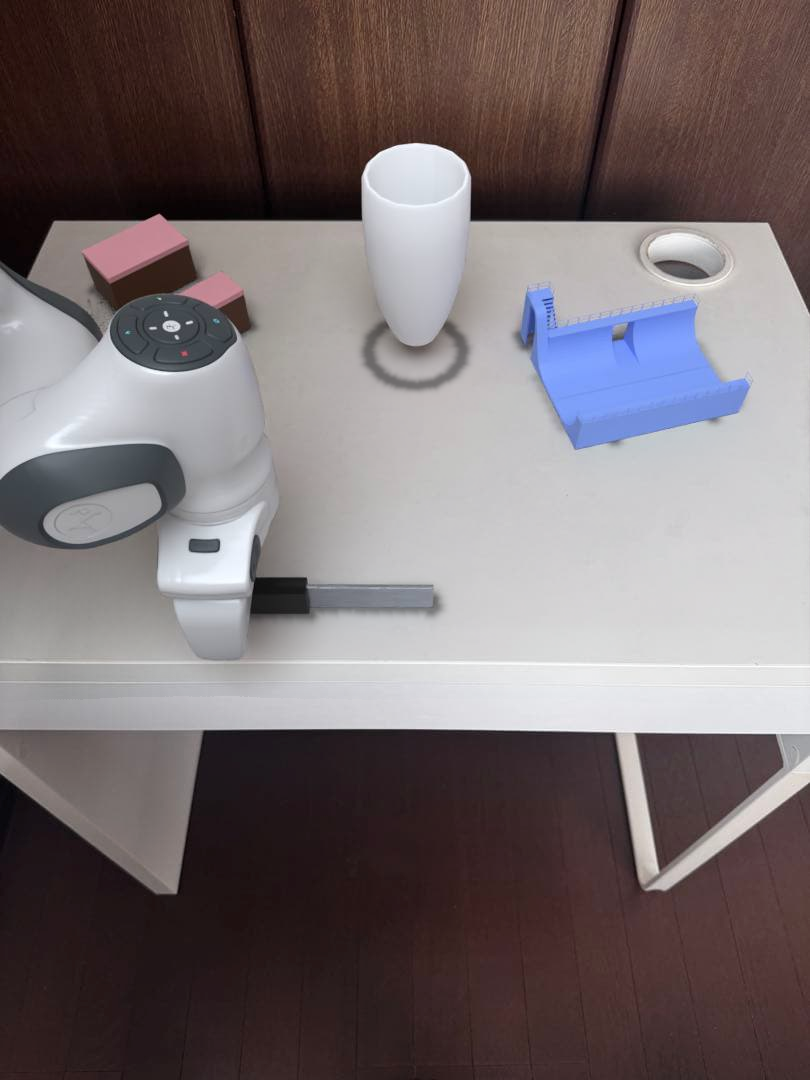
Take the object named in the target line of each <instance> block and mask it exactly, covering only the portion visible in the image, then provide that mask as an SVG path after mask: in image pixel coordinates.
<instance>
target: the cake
mask: <svg viewBox="0 0 810 1080" xmlns="http://www.w3.org/2000/svg"><path fill="white" fill-rule="evenodd" d="M81 253H82V257H83V259H84V262H85V264H86V268H87V269H88V273H89V274H90V277H91V280H92V282H93V284H94V287H95V290H96V291H97V292H98V293H99V294H100V295H101V297H103V299H104V300H105V301H106V302H107V303H108V304H109V305H110V307H112V308H113V310H115V311H116V312H117V311H118V310H119V309H121V308H122V307H123V306H124V305H126V304H128V303H129V302H131V301H133V300H136V299H138V298H141V297H145V296H149V295H156V294H172V292H174V291H177V290H179V289H180V288H183V287H184V286H186V285H188V284H190V283H192V282H194V281H196V280H198V276H197V272H196V268H195V263H194V260H193V257H192V256H193V255H192V252H191V249H190V245H189V241H188V239H187V238H186V237H185V236H184V235H183V234H182V233H181V232H180V231H178V229H177V228H175V226H173V224H172V223H170V222H169V221H168V220H167V219H166V218H165V217H164V216H163V215H161V213H158V214H156V215H154V216H152V217H150V218H148V219H145V220H143V221H141V222H139V223H137V224H135V225H133V226H131V227H129V228H126V229H124V230H123V231H120V232H118V233H116V234H114V235H112V236H110V237H107V238H106V239H103V240H101V241H99V242H97V243H94V244H93V245H91V246H89V247H86V248H84V249H82V250H81Z"/></svg>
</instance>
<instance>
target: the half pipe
mask: <svg viewBox="0 0 810 1080" xmlns="http://www.w3.org/2000/svg"><path fill="white" fill-rule="evenodd" d="M545 283H546V282H545V281H544V282H543V284H545ZM548 283H550V284H545V285H544V287H546V286H548V287H546V288H541V287H543V285H541V282H539V283H537V286H536V287H534V289H535V290H533V287H531V288H530V286H531V284H529V285H527V287H526V293H525V296H524V297H525V298H524V305H523V310H522V311H523V312H522V319H521V325H520V334H519V336H520V339H521V341H522V342H523V344H524V346H525V347H526V346H527V342H528V335H529V334H534V335H533V342H532V347H531V348H532V349H531V354H530V361H531V363H532V365H533V366H534V369H535V371H536V373H537V375H538V378H539V379H540V381H541V383H542V385H543V387H544V389H545V392H546V393H547V395H548V397H549V399H550V401H551V404H552V405H553V408H554V409H555V412H556V413H557V416H558V418H559V420H560V422H561V424H562V425H563V428H564V430H565V432H566V434H567V436H568V438H569V440H570V442H571V444H572V446H573V449H574V450H575V451H576V450H580V449H584V448H589V447H593V446H597V445H602V444H607V443H610V442H615V441H620V440H623V439H628V438H633V437H637V436H642V435H645V434H646V435H647V434H651V433H655V432H660V431H664V430H667V429H671V428H676V427H681V426H685V425H690V424H694V423H698V422H703V421H707V420H713V419H715V418H720V417H725V416H729V415H733V414H738V413H739V412H740V410H741V407H742V406H743V403H744V401H745V399H746V398H747V395H748V393H749V391H750V388H751V386H752V384H753V382H754V379H753V378H752V377H751V375H750V373H749V372H748V371H747V372H746V374H745V376H744V377H742V378H738V379H734V380H729V381H725V382H722V381H721V380H720V378H719V377H718V374H717V373H716V372H715V370H714V368H713V367H712V365H711V364H710V362H709V360H708V359H707V357H706V356H705V355H704V353H703V351H702V349H701V348H700V346H699V344H698V340H697V336H696V327H695V321H696V313H697V311H698V309H699V308H698V307H699V304H700V301H701V300H700V298H699V296H697V294H696V293H695V292H694V293H693V296H691V295H692V293H690V294H688V296H689V297H688V300H685V299H687V297H686V296H687V294H686V295H683V298H681V297H682V295H679V298H680V299H679V301H678V302H675V301H677V299H676V298H677V296H676V297H674V298H673V297H670V298H669V300H670V301H669V304H667V303H668V301H666V300H668V298H666V299H662V300H659V302H661V301H662V302H661V303H659V305H660V306H656V305H658V303H656V302H658V300H655V301H654V303H653V301H651V302H649V304H650V308H647V307H648V305H646V304H648V302H646V303H641V304H640V306H641V307H640V310H638V309H639V307H637V306H639V304H636V305H635V307H637V308H635V310H636V311H635V310H634V305H632V306H631V305H630V308H631V309H630V312H628V311H629V309H627V308H629V306H626V307H625V309H627V310H625V313H623V312H624V310H623V309H624V307H622V308H620V312H616V314H617V315H616V314H615V312H613V311H614V309H612V310H611V311H610V310H607V311H606V313H608V312H610V313H608V314H606V317H604V316H605V314H604V313H605V311H602V312H597V313H596V315H598V314H599V315H598V316H596V318H597V319H594V318H595V316H593V315H595V313H593V314H589V315H586V317H588V318H587V321H583V320H586V318H584V317H585V315H583V316H582V318H583V319H582V321H583V322H580V321H581V316H579V317H577V323H574V322H576V317H572V320H573V321H572V324H569V323H571V321H570V320H571V318H568V320H567V322H564V321H566V319H564V320H562V325H563V326H560V325H561V323H560V322H561V320H558V321H557V320H556V319H557V317H556V313H555V305H554V299H555V296H554V293H555V291H552V290H553V289H555V287H554V285H553V283H552V282H551V281H548ZM534 285H536V283H534V284H533V286H534ZM540 285H541V286H540ZM540 288H541V289H540ZM531 289H532V290H531ZM695 296H696V298H697V299H698V300H697V299H696V298H695ZM690 298H691V299H690ZM671 299H673V300H671ZM681 300H682V301H681ZM694 300H695V301H696V302H697V304H696V302H695V301H694ZM665 301H666V302H665ZM674 302H675V303H674ZM651 303H652V304H651ZM665 303H666V304H665ZM664 304H665V305H664ZM644 305H646V306H645V309H643V308H644ZM654 306H655V307H654ZM633 310H634V311H633ZM615 311H619V308H618V309H615ZM602 313H603V314H602ZM618 313H620V314H618ZM613 314H615V315H613ZM608 315H609V316H608ZM592 316H593V317H592ZM574 319H575V320H574ZM592 319H593V320H592ZM564 324H566V325H564ZM622 324H627V325H626V329H625V332H624V336H623V338H622V339H619V340H614V341H613V331H614V327H615V326H618V325H622ZM748 375H749V377H750V378H751V380H750V378H749V377H748ZM746 378H747V379H746ZM749 382H750V383H749Z"/></svg>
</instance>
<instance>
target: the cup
mask: <svg viewBox="0 0 810 1080" xmlns="http://www.w3.org/2000/svg"><path fill="white" fill-rule="evenodd" d="M471 195H472V176H471V173H470V170H469V168H468V165H467V163H466V162H465V161H464V160H463V159H462V158H461V157H459V156H458V155H457V153H455V152H454V151H452V150H449V149H447V148H444V147H441V146H440V145H436V144H428V143H419V142H414V143H405V144H397V145H394V146H391V147H389V148H386V149H384V150H381V151H380V152H378V153H377V154H376V155H375V156H374V157H372V158H371V159H370V160H369V161H368V162H367V163H366V164H365V167H364V170H363V172H362V175H361V227H362V235H363V243H364V252H365V260H366V266H367V269H368V273H369V277H370V280H371V284H372V287H373V290H374V294H375V298H376V300H377V303H378V304H377V305H378V306H379V309H380V311H381V313H382V316H383V318H384V320H385V322H386V324H387V325H388V327H389V329H390V331H391V332H392V334H393V335H394V336H395V338H396V339H397V340H398V342H400V343H402V344H404V345H407V346H409V347H410V346H411V347H422V346H426V345H428V344H429V343H432V342H433V341H434V339H436V338H437V336H438V334H439V333H440V331H441V330H442V328H443V327H444V325H445V323H446V321H447V320H448V317H449V315H450V313H451V311H452V308H453V307H454V303H455V301H456V297H457V294H458V291H459V287H460V284H461V281H462V277H463V274H464V269H465V266H466V261H467V253H468V244H469V236H470V227H471V201H472V200H471V199H472V197H471Z"/></svg>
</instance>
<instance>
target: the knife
mask: <svg viewBox="0 0 810 1080" xmlns="http://www.w3.org/2000/svg"><path fill="white" fill-rule="evenodd" d="M434 590H435V589H434V584H400V583H399V584H393V583H392V584H391V583H390V584H387V583H385V584H384V583H383V584H377V583H373V584H372V583H370V584H369V583H365V584H361V583H357V584H356V583H355V584H354V583H353V584H351V583H349V584H348V583H347V584H346V583H345V584H344V583H337V584H336V583H333V584H332V583H309V582H308V578H307V577H306V576H304V577H303V576H302V577H301V576H299V577H298V576H297V577H296V576H295V577H294V576H291V577H290V576H275V577H274V576H256V577H255V581H254V585H253V591H252V600H251V609H250V615H310V614H311V612H310V611H311V608H434V593H435V592H434Z"/></svg>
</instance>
